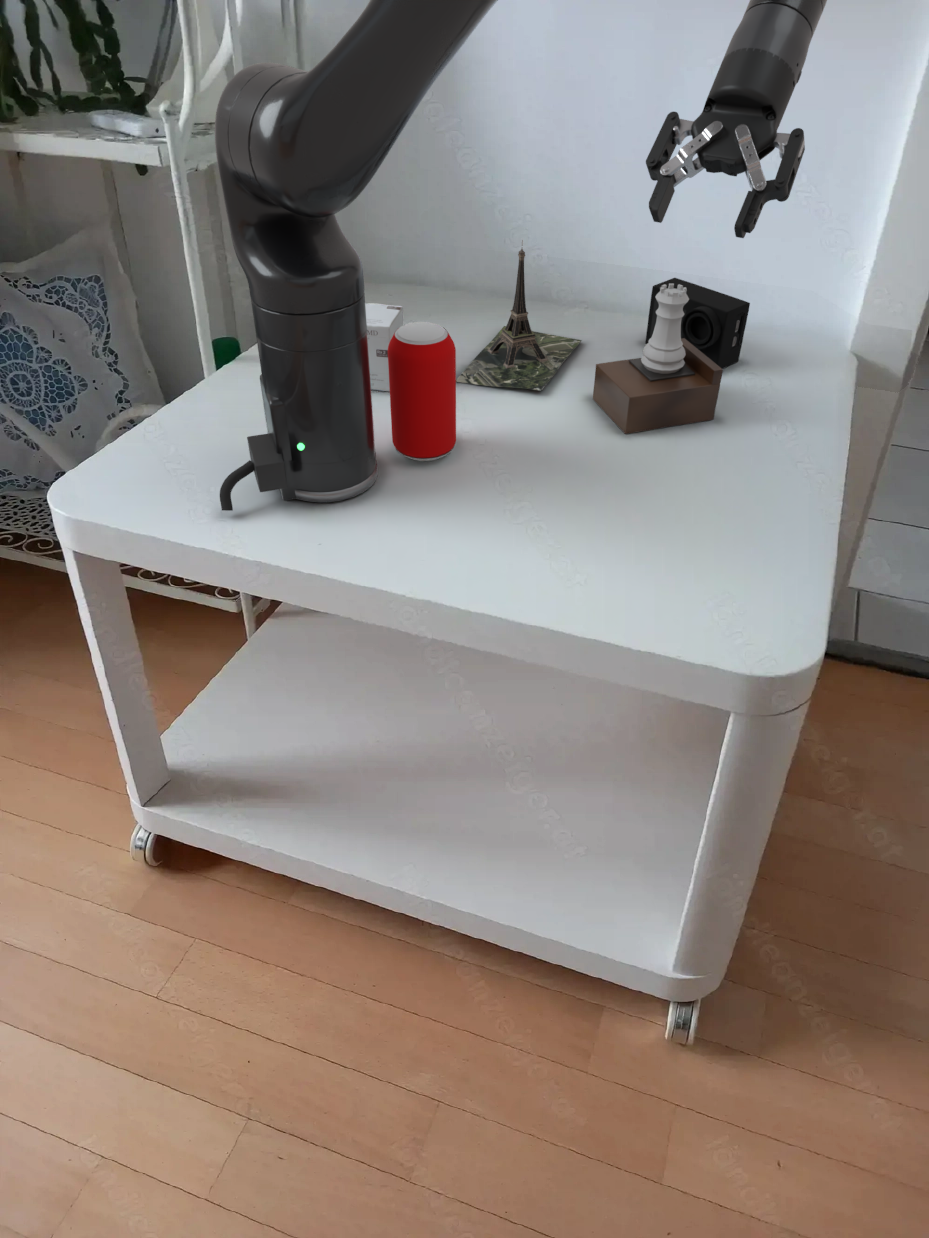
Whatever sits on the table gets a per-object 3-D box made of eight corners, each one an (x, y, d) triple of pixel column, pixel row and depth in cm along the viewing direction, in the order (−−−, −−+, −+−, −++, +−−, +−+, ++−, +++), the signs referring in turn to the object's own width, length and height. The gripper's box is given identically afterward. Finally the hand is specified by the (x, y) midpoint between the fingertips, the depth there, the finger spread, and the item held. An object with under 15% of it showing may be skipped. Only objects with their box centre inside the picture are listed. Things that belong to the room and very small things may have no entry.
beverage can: (413, 473, 88) (409, 351, 80) (381, 445, 92) (374, 327, 84) (468, 455, 90) (469, 335, 83) (434, 429, 94) (431, 312, 87)
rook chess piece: (683, 377, 94) (696, 298, 89) (639, 372, 95) (649, 294, 90) (684, 358, 98) (697, 281, 92) (641, 354, 98) (651, 278, 93)
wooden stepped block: (625, 434, 94) (631, 383, 90) (592, 399, 100) (597, 350, 96) (713, 419, 96) (723, 369, 93) (676, 386, 102) (684, 337, 98)
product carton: (338, 388, 101) (332, 321, 97) (353, 364, 106) (348, 300, 101) (393, 392, 101) (390, 326, 96) (406, 368, 105) (403, 304, 100)
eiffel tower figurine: (542, 397, 100) (550, 271, 91) (454, 381, 103) (454, 257, 94) (581, 343, 111) (592, 226, 102) (501, 330, 113) (504, 215, 105)
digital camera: (636, 346, 110) (644, 287, 105) (666, 334, 113) (674, 276, 108) (709, 375, 104) (720, 314, 99) (738, 362, 107) (750, 301, 102)
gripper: (684, 38, 91) (621, 192, 91) (831, 52, 85) (764, 217, 85) (695, 90, 98) (637, 233, 98) (832, 107, 92) (770, 259, 92)
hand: (696, 225), depth 91 cm, fingers open, 8 cm apart
